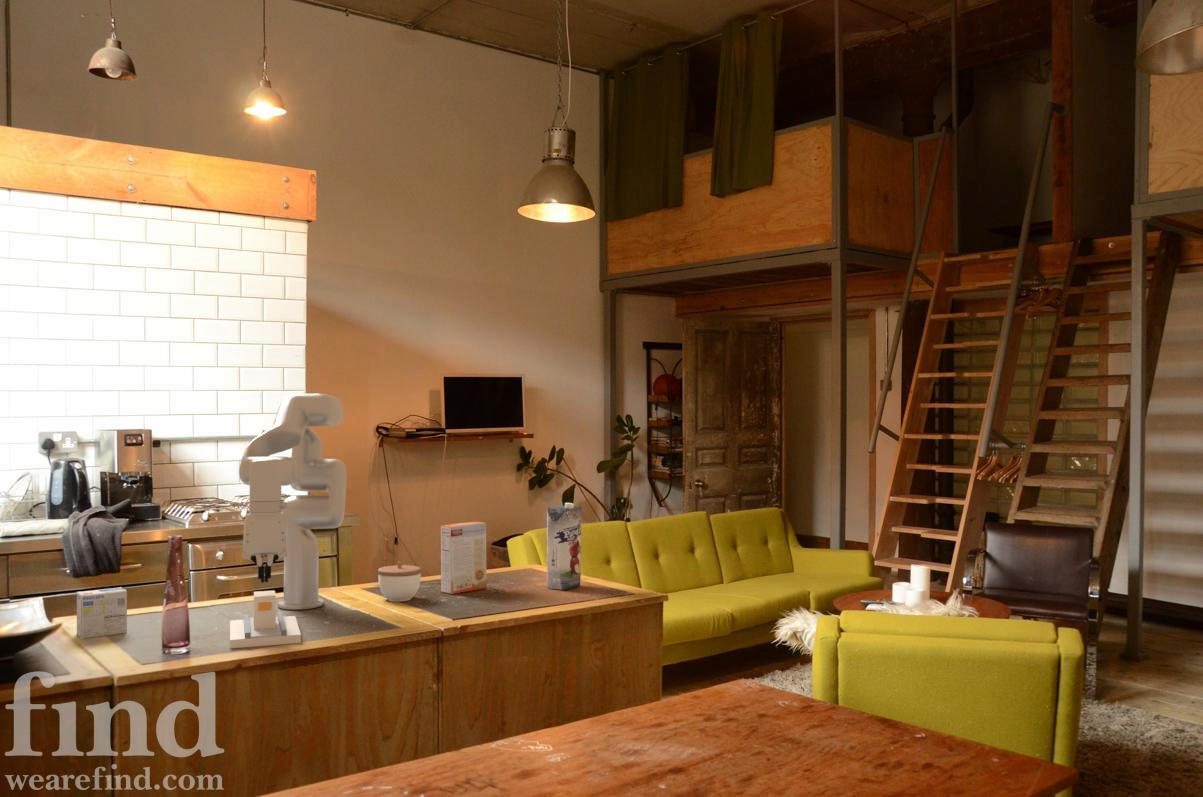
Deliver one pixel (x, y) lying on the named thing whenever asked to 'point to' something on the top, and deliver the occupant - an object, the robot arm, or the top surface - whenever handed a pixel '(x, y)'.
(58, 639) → the top surface
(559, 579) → the juice carton
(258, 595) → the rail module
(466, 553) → the cracker box
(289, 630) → the rail board
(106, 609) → the light bulb box
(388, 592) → the lidded bowl
